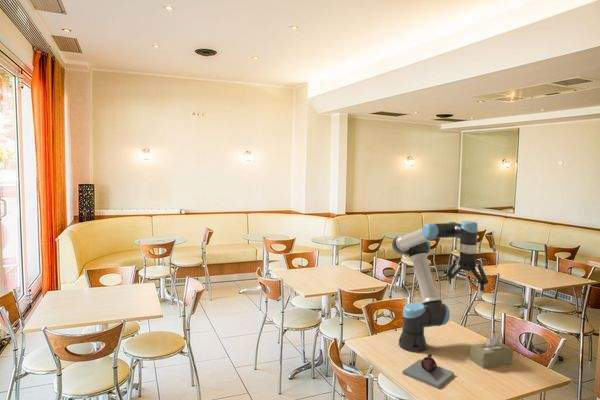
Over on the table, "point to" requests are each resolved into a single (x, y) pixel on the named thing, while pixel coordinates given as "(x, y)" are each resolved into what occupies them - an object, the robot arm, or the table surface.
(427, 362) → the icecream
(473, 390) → the table surface
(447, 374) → the slate plate
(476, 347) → the tissue box
